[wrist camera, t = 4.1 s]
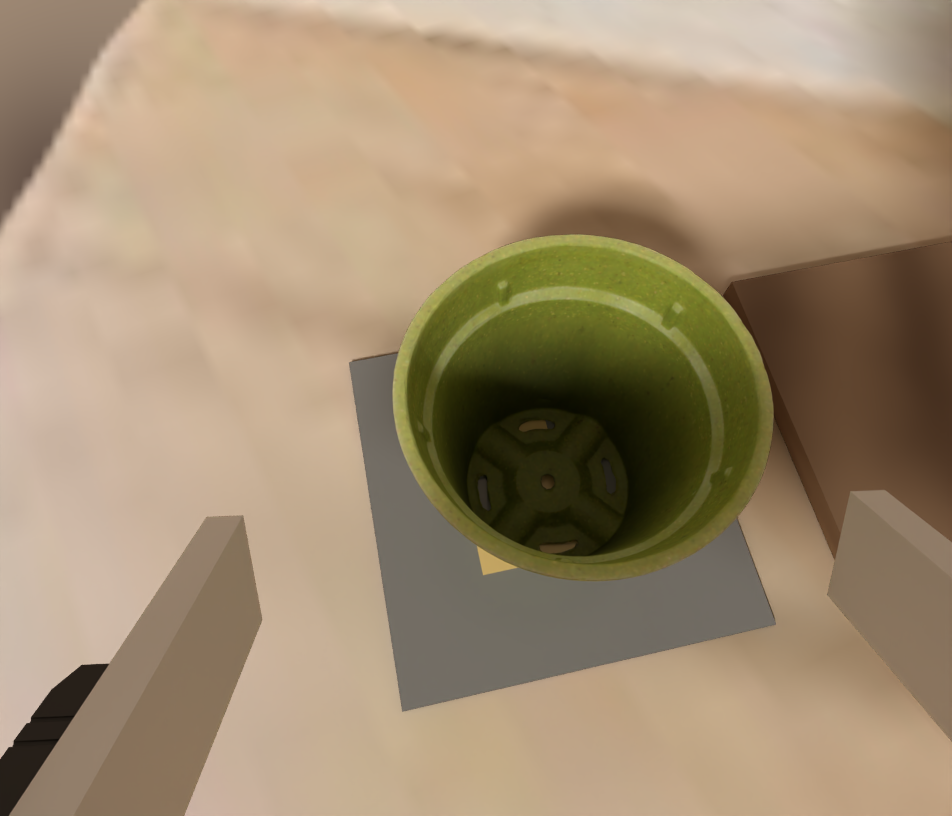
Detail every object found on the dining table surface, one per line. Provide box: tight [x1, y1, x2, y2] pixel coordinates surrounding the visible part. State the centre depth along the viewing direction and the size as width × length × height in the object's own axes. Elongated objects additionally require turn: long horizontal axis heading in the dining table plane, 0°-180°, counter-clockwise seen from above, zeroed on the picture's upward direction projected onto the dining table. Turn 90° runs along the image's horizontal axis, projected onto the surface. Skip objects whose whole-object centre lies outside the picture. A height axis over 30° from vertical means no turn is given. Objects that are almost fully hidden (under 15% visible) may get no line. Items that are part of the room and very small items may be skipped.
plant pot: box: [393, 234, 774, 581], centre depth 20 cm, size 9×9×9 cm
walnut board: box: [723, 242, 952, 559], centre depth 25 cm, size 13×13×1 cm
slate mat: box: [349, 353, 776, 712], centre depth 24 cm, size 13×13×1 cm
